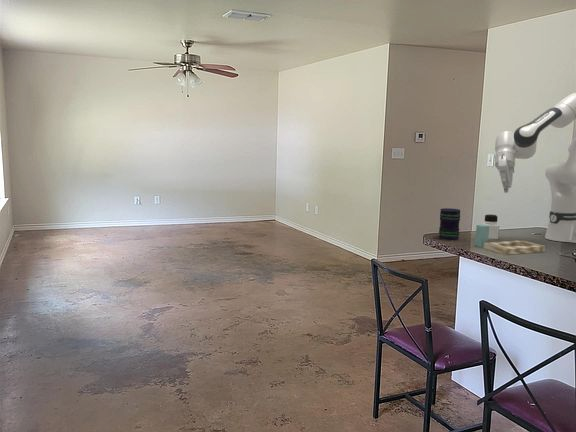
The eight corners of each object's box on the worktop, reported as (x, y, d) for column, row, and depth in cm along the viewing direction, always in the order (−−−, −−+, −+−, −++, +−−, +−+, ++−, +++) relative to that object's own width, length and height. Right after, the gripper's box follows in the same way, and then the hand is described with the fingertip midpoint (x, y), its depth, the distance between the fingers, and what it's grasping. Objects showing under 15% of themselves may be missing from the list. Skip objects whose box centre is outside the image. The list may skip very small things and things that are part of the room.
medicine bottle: (498, 239, 252) (500, 216, 250) (483, 238, 253) (485, 215, 251) (495, 236, 259) (497, 214, 257) (481, 236, 260) (482, 213, 258)
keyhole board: (521, 245, 238) (522, 240, 237) (544, 251, 225) (545, 246, 224) (483, 248, 231) (484, 242, 231) (505, 254, 218) (505, 249, 218)
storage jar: (447, 241, 247) (448, 211, 244) (434, 237, 256) (436, 208, 253) (463, 239, 250) (464, 210, 248) (450, 236, 259) (451, 207, 257)
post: (482, 245, 238) (483, 224, 236) (487, 246, 234) (489, 226, 233) (475, 245, 237) (476, 225, 235) (480, 247, 233) (482, 226, 231)
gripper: (509, 149, 227) (509, 175, 221) (514, 172, 243) (514, 196, 237) (494, 150, 230) (494, 176, 225) (500, 173, 246) (500, 197, 240)
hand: (504, 187), depth 231 cm, fingers open, 8 cm apart
